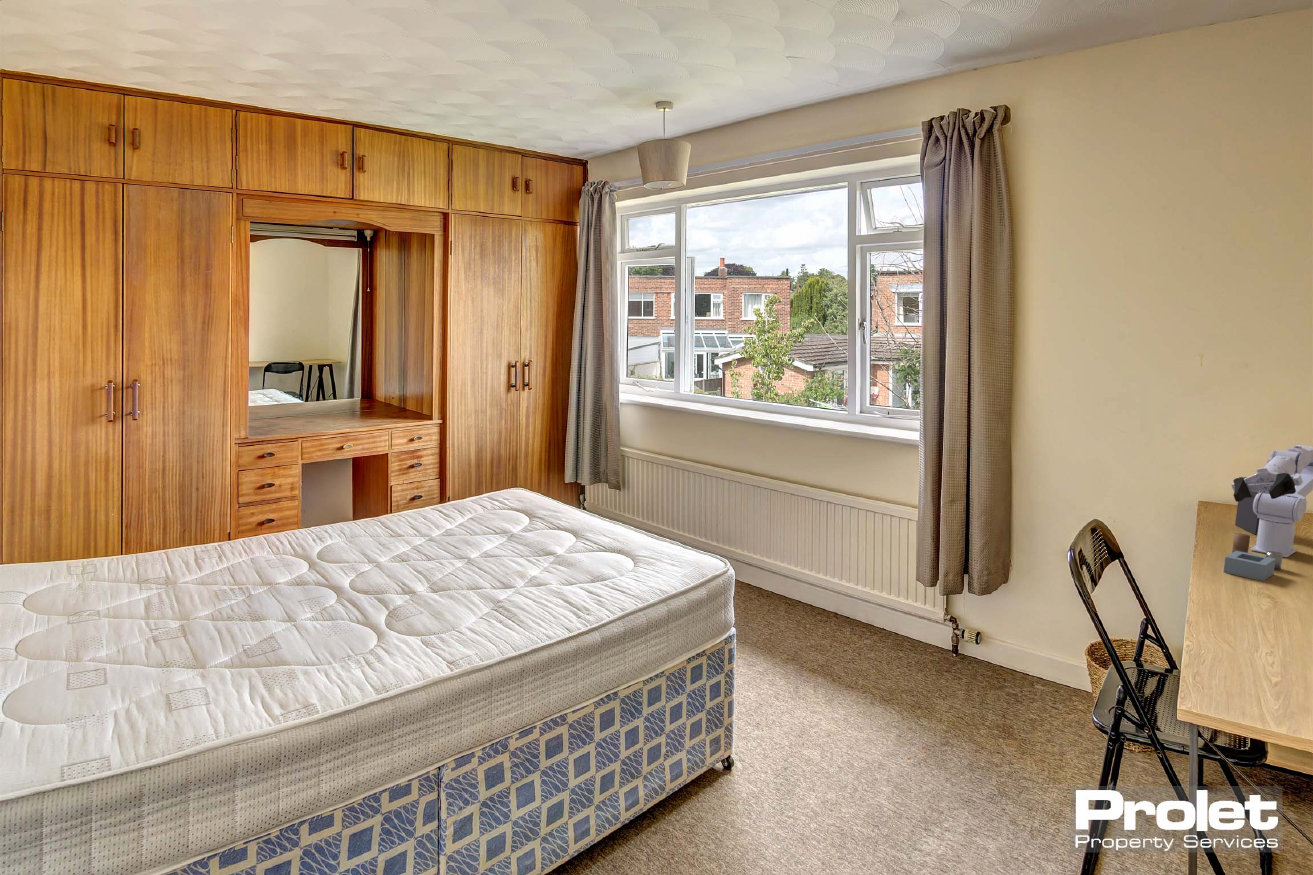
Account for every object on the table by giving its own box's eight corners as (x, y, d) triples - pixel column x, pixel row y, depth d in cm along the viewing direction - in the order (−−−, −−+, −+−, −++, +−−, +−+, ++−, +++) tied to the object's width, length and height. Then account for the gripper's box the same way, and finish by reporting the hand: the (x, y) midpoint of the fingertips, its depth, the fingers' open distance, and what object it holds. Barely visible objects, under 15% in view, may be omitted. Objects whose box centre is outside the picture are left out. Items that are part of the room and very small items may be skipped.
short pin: (1266, 565, 192) (1268, 550, 191) (1282, 568, 189) (1284, 553, 188) (1262, 567, 190) (1264, 552, 189) (1278, 571, 187) (1280, 555, 186)
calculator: (1269, 536, 216) (1276, 485, 214) (1252, 535, 217) (1259, 484, 215) (1248, 525, 227) (1254, 477, 225) (1232, 524, 228) (1238, 476, 225)
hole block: (1234, 565, 191) (1236, 550, 190) (1273, 574, 185) (1275, 558, 184) (1223, 572, 186) (1225, 556, 186) (1263, 581, 180) (1265, 565, 179)
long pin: (1233, 558, 197) (1236, 532, 196) (1248, 561, 194) (1251, 535, 193) (1229, 560, 195) (1232, 534, 194) (1244, 563, 193) (1247, 537, 191)
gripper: (1236, 464, 201) (1215, 485, 194) (1302, 457, 188) (1282, 478, 181) (1246, 488, 201) (1225, 510, 194) (1312, 482, 188) (1293, 505, 182)
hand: (1253, 496), depth 188 cm, fingers open, 7 cm apart
